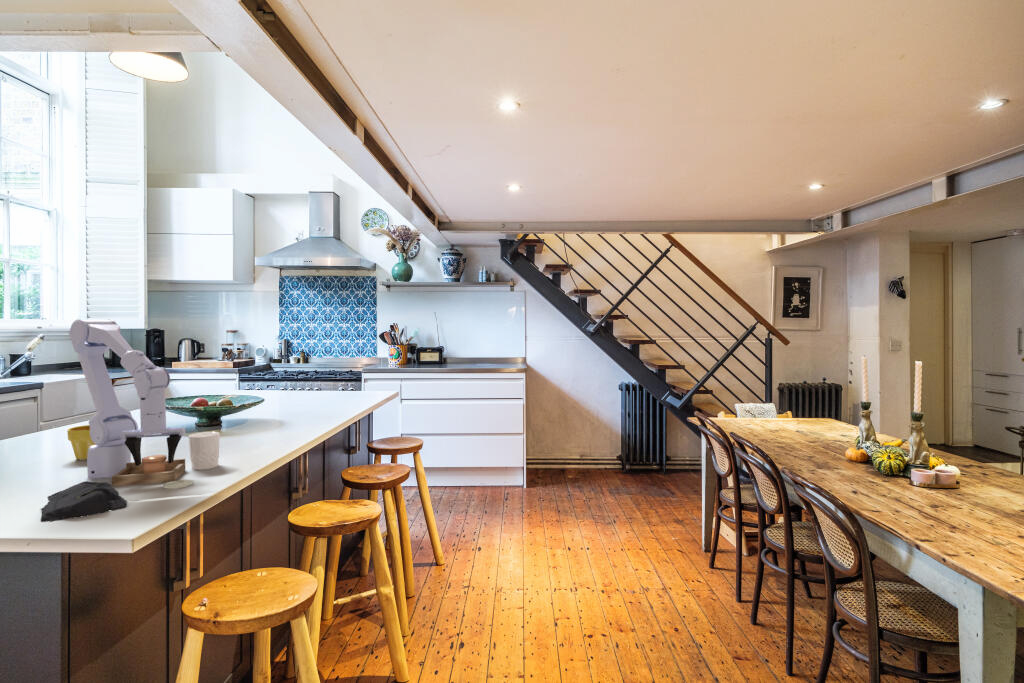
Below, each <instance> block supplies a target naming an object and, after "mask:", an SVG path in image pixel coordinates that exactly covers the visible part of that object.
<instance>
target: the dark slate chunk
mask: <svg viewBox="0 0 1024 683" xmlns="http://www.w3.org/2000/svg"><path fill="white" fill-rule="evenodd" d="M46 497H47V504H45V505H44V506H43V507H42V508H41V514H42V515H40V516H41V517H40V523H41V522H50V523H51V522H56V521H62V520H67V519H68V518H69V519H75V518H74V517H77V518H82V517H81V516H83V517H88V516H87V515H89V516H93V514H94V515H98V513H100V514H103V513H106V511H108V512H110V511H109V510H112V511H116V510H118V508H119V509H124V508H126V507H127V505H128V503H127V500H125V498H123V497H122V496H120V493H119V492H118V491H117V490H116V489H115V487H114V486H112V483H110V482H108V481H86V480H85V481H82V482H79V483H77V484H74V485H72V486H69V487H68V488H67V487H66V488H65V489H63V490H60V491H58V492H55V493H53V494H51V495H48V496H46ZM123 507H124V508H123ZM69 519H68V520H69Z"/></svg>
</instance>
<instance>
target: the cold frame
mask: <svg viewBox="0 0 1024 683" xmlns="http://www.w3.org/2000/svg"><path fill="white" fill-rule="evenodd" d="M165 465H166V472H156V473H143V462H142V461H141V464H140V465H139V466H135V462H134V461H133V462H132V461H131V463H126V468H124V469H123V470H121V471H120V472H118V473H117V474H115V475H114V476H112V477H111V486H112V487H119V486H120V487H121V486H131V485H132V486H133V485H143V484H144V485H145V484H156V483H159V484H160V483H168V482H172V481H177V480H178V479H179V477H180V476H182V475H183V474H184V473H185V472H186V458H178V459H177V458H176V459H175V458H174V461H173V462H172V463H168V459H166V460H165Z"/></svg>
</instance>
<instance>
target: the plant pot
mask: <svg viewBox="0 0 1024 683" xmlns="http://www.w3.org/2000/svg"><path fill="white" fill-rule="evenodd" d="M66 431H67V439H68V441H70V443H71V446H72V450H73V453H74V456H75V459H87V453H88V450H89V448H90V446H92V445H96V444H95V443H94V442H93V441H92V440H91V437H90V426H89V424H88V425H87V424H86V425H80V426H74V427H73V426H72V427H70V428H68V429H67V430H66Z"/></svg>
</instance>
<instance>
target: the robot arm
mask: <svg viewBox="0 0 1024 683" xmlns="http://www.w3.org/2000/svg"><path fill="white" fill-rule="evenodd" d="M68 334H69V338H70V341H71V345H72V347H73V350H74V352H75V353H77V357H78V360H79V362H80V365H81V369H82V373H83V374H84V378H85V380H86V384H87V387H88V390H89V392H90V393H89V394H90V395H91V398H92V402H93V405H94V408H95V410H96V412H95V414H94V415H93V416H92V417H91V418H89V421H88V425H89V426H90V437H91V440H92V441H93V442H94V443H95V444H96V445H92V446H90V448H89V450H88V453H87V460H86V467H87V478H86V480H88V479H89V480H90V479H91V480H92V479H101V478H102V479H103V478H104V479H105V478H112V476H114V475H115V474H117V473H118V472H120V471H121V470H123V469H124V468H126V463H131V462H132V458H133V462H135V466H139V465H140V464H141V462H142V455H141V454H142V453H141V447H142V438H153V437H154V438H155V437H157V438H158V437H159V438H160V437H166V443H167V453H168V454H167V460H168V463H172V462H173V461H174V459H175V454H176V452H177V448H178V445H179V443H180V441H181V439H182V437H183V436H185V435H186V427H185V426H184V427H179V426H178V427H167V416H166V414H167V411H166V407H167V406H166V388H167V387H169V385H170V383H171V375H170V372H169V371H168V370H167V368H165V367H162V366H161V367H159V366H157V365H155V364H154V363H153V362H152V361H151V360H150V359H149V357H147V356H146V355H145V353H144V351H142V350H139V349H138V350H134V349H133V348H132V346H131V345H130V344H129V343H128V341H127V340H126V339H125V338H124V336H122V334H121V326H120V325H119V324H118V323H117V322H116V321H115V320H113V319H80V318H79V319H76V320H74V321H72V324H71V325H70V329H69V332H68ZM109 350H111V351H112V352H114V354H116V355H117V356H118V357H119V358H121V359H120V365H121V367H123V368H124V369H125V371H126V372H128V373H129V375H130V376H131V377H132V378H133V385H134V387H135V389H136V393H137V394H136V395H137V396H138V398H139V408H140V409H139V411H140V412H139V413H140V416H139V417H140V429H139V424H138V422H137V421H136V420H135V419H134V416H132V415H133V414H132V413H131V411H130V410H128V409H126V408H124V407H122V406H120V403H119V400H118V398H117V394H116V392H115V388H114V385H113V382H112V380H111V377H110V373H109V371H108V369H107V368H108V367H107V365H106V362H105V358H104V357H103V356H104V353H106V352H108V351H109Z"/></svg>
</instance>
